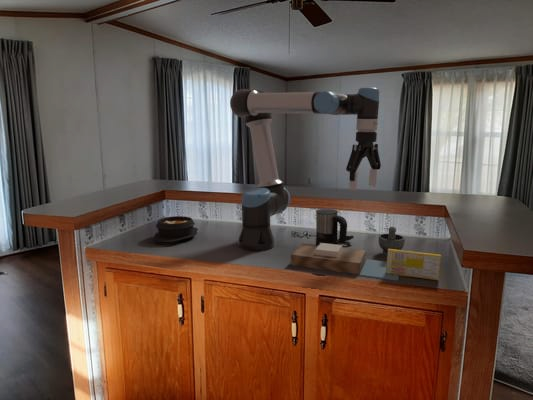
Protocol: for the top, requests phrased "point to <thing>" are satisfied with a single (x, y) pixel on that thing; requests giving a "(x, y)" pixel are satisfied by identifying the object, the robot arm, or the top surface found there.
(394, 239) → the mortar and pestle
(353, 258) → the panel
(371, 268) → the mat
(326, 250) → the tile
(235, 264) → the top surface
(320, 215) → the milk frother
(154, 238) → the casserole
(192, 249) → the top surface
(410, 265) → the candy box
